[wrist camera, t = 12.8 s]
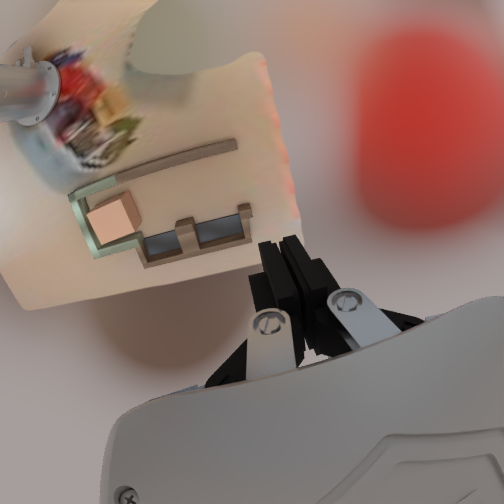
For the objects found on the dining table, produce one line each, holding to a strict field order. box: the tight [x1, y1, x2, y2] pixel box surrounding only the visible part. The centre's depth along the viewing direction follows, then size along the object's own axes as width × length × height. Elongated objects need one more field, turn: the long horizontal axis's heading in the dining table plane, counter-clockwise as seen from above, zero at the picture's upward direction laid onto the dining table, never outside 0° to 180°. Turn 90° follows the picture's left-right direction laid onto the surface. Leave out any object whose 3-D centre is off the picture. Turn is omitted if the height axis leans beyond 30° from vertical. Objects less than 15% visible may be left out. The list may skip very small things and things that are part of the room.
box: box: [68, 139, 253, 269], centre depth 44 cm, size 18×30×3 cm, turn 102°
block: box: [86, 190, 142, 245], centre depth 43 cm, size 6×7×5 cm
